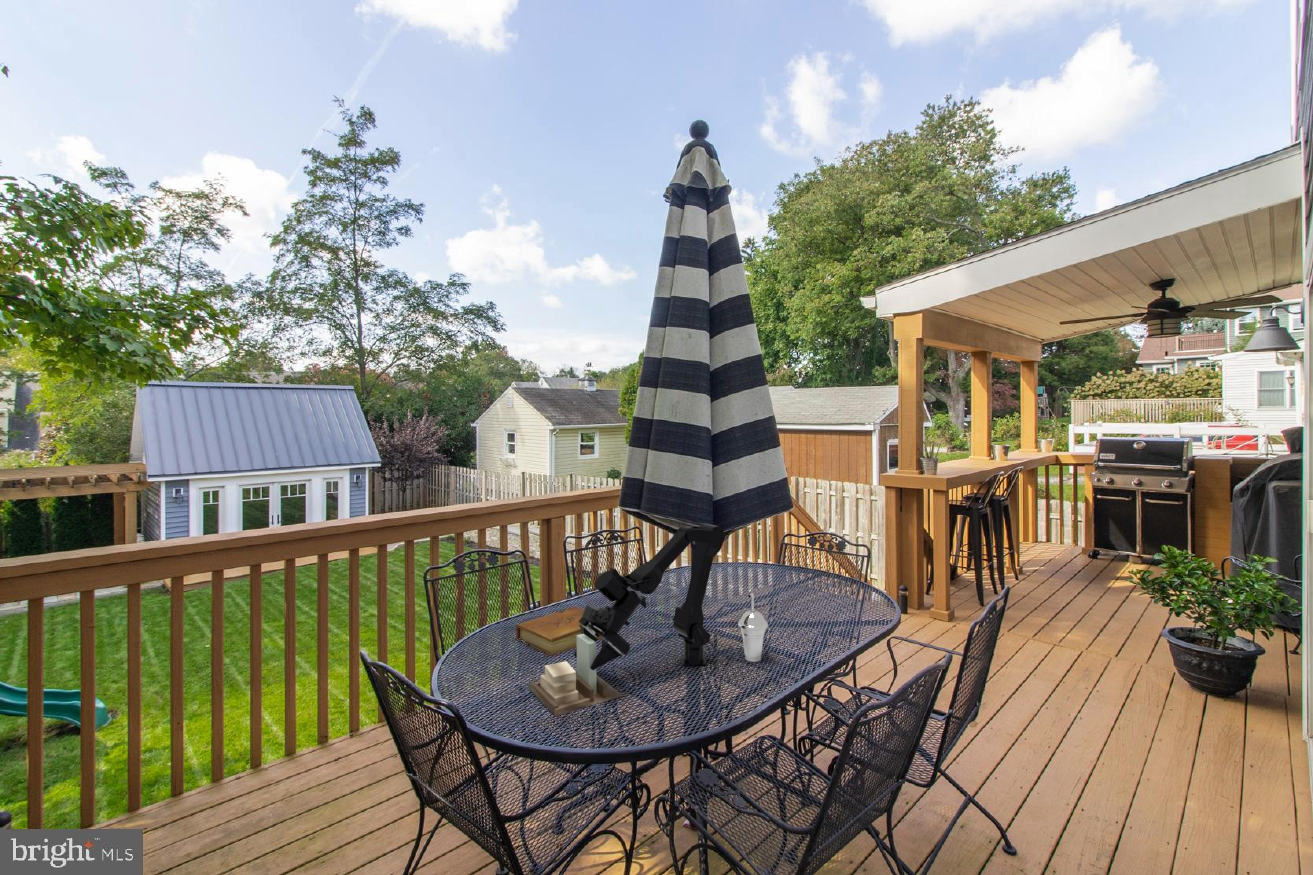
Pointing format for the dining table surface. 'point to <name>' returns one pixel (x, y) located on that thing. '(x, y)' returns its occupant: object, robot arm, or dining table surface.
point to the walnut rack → (584, 696)
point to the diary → (552, 631)
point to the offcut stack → (560, 683)
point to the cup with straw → (752, 632)
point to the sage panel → (586, 660)
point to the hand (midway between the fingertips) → (583, 662)
